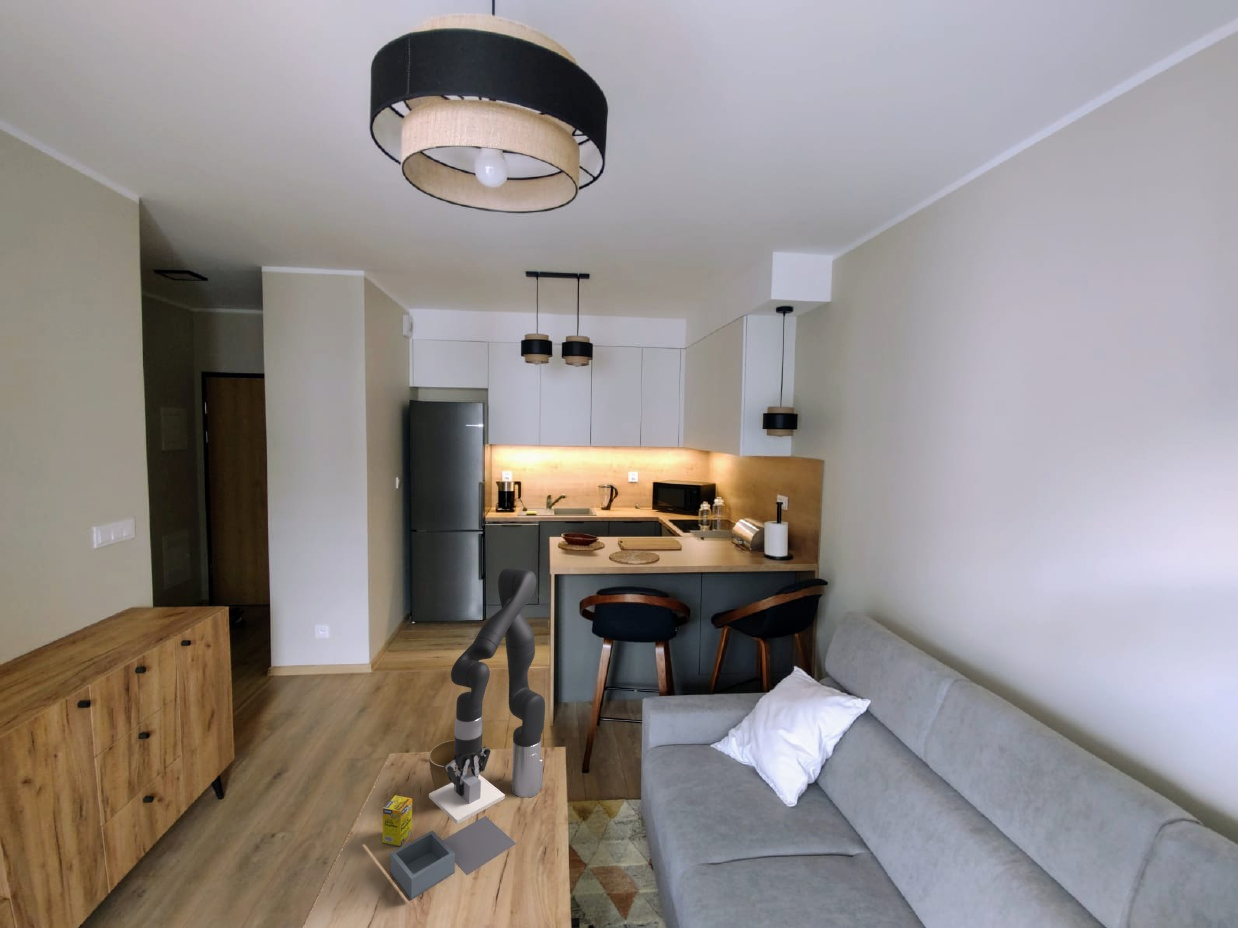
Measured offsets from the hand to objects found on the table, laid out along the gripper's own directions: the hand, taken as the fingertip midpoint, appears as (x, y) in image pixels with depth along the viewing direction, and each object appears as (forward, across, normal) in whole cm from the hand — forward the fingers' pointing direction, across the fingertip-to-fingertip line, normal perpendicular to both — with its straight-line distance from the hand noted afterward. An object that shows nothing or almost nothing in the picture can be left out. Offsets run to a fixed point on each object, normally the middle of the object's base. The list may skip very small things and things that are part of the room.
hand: (466, 791), depth 153 cm
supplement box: (+18, +11, -18) cm, 28 cm away
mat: (+18, -4, 0) cm, 18 cm away
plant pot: (+18, -9, -22) cm, 29 cm away
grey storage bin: (+18, +12, -1) cm, 22 cm away
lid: (+2, 0, 0) cm, 2 cm away
